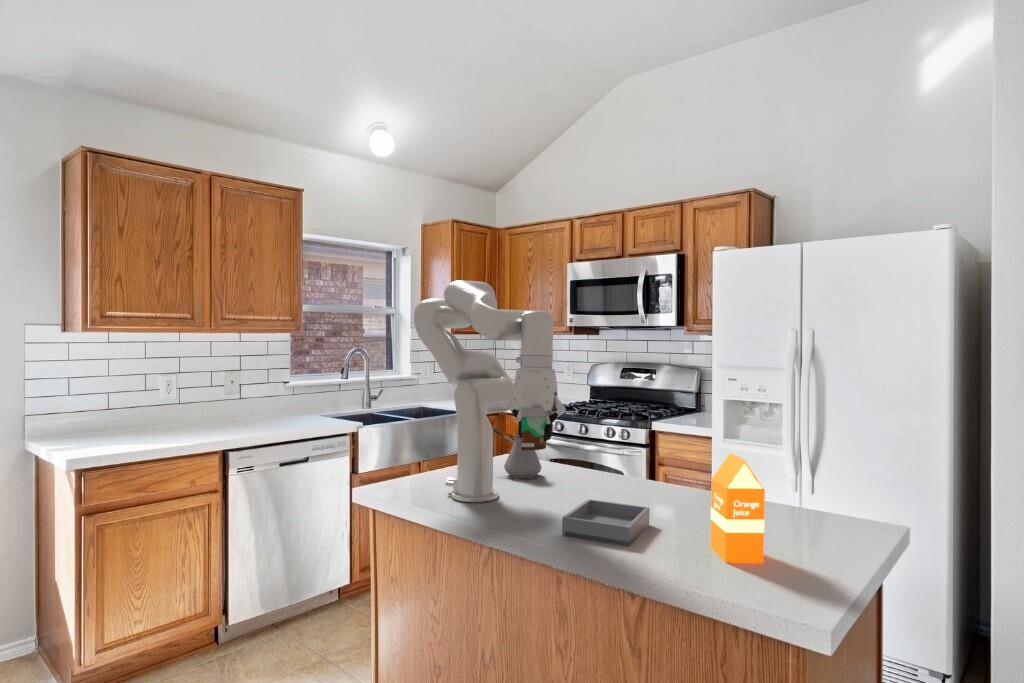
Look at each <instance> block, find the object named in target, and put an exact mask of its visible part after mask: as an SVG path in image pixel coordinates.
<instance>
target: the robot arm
mask: <svg viewBox="0 0 1024 683" xmlns="http://www.w3.org/2000/svg"><path fill="white" fill-rule="evenodd" d="M415 306H416V307H414V308H415V309H414V312H413V323H414V328H415V331H416V334H417V336H418V338H419V340H420V341H421V343H422V344H423V345H424V346H425V347H426V349H427V350H428V351H429V352H430V354H431V355H432V356H433V358H434V360H435V362H436V363H437V365H438V367H439V368H440V370H441V372H442V373H443V375H444V377H445V378H446V380H447V381H448V382H449V384H451V385H453V386H456V387H455V390H454V395H453V396H454V397H453V399H454V400H453V401H454V407H455V411H456V418H457V421H456V422H457V462H456V464H457V466H456V467H457V468H456V469H457V470H456V471H457V472H456V475H457V476H456V477H457V478H453V477H447V478H446V479H445V480H446V481H445V486H446V487H452V488H453V489H452V490H451V493H450V494H451V495H450V497H451V498H452V499H453V500H456V501H458V502H464V503H485V501H487V502H491V501H494V500H496V499H497V498H498V497H499V491H498V490H496V489H495V488H493V486H494V485H493V484H494V483H493V482H494V481H493V479H494V471H493V470H494V432H493V429H492V427H493V426H492V424H491V422H490V420H489V418H488V416H487V415H489V414H494V413H495V414H496V413H505V412H508V411H510V412H511V413H512V414H513V416H514V417H515V419H516V421H517V422H518V430H517V431H518V432H517V433H519V438H521V427H522V416H521V410H522V407H543V410H544V411H545V412H548V411H550V410H551V414H552V415H550V416H546V424H545V429H544V441H547V442H548V441H550V440H551V439H552V436H553V423H555V421H557V419H558V418H559V417H560V416H561V415H563V414H564V413H565V412H566V411H567V408H566V407H565V405H564V404H563V403H562V401H561V400H560V399H559V396H558V395H559V394H558V381H557V374H556V370H555V369H554V368H553V355H554V354H553V348H554V347H553V344H554V339H553V338H554V316H553V314H552V312H550V311H547V310H523V309H521V310H519V309H498V301H497V299H496V293H495V290H494V288H493V287H492V286H491V285H490V284H489V283H487V282H484V281H476V280H455V281H452V282H450V283H449V284H448V285H447V286H446V287H445V289H444V292H443V298H428V299H424V300H422V301H420V302H419V303H417V305H415ZM470 326H471V327H472V329H473V330H474V331H475V332H477V333H478V334H480V335H481V336H484V337H485V338H486V339H489V340H493V341H500V342H501V341H503V342H504V341H515V342H517V341H518V342H520V354H519V356H517V357H516V358H515V363H518V364H519V366H520V367H518V368H516V372H515V377H514V383H513V381H512V379H511V378H510V376H509V375H508V373H507V372H506V370H505V369H504V367H503V366H502V364H501V363H500V361H499V360H498V358H496V357H495V355H493V354H492V353H490V352H488V351H481V350H478V351H477V350H475V351H473V350H468V349H466V348H465V347H464V346H463V344H461V342H460V340H459V339H458V338H457V337H456V336H455V335H454V334H453V333H452V332H450V331H448V330H447V329H466V328H468V327H470ZM554 410H556V411H555V412H553V411H554Z"/></svg>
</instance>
